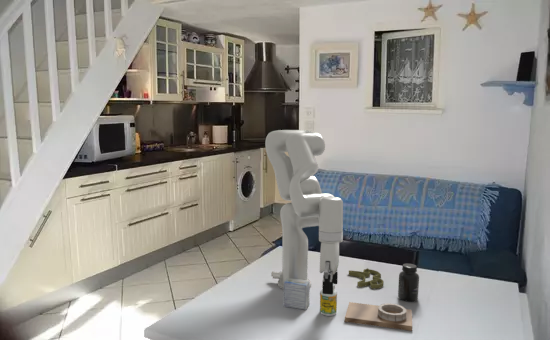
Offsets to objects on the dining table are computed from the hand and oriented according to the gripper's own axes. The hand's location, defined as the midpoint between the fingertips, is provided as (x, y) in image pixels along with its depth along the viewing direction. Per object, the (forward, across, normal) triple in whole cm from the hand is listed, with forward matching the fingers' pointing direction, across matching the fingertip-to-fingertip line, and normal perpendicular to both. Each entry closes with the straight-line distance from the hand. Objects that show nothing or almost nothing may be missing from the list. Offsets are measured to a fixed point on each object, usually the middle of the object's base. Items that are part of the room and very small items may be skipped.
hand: (330, 288), depth 144 cm
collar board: (+9, -2, +15) cm, 18 cm away
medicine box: (+8, -3, -12) cm, 15 cm away
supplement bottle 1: (+9, -1, -1) cm, 9 cm away
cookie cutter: (+8, -35, +9) cm, 37 cm away
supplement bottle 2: (+9, -21, +24) cm, 33 cm away
